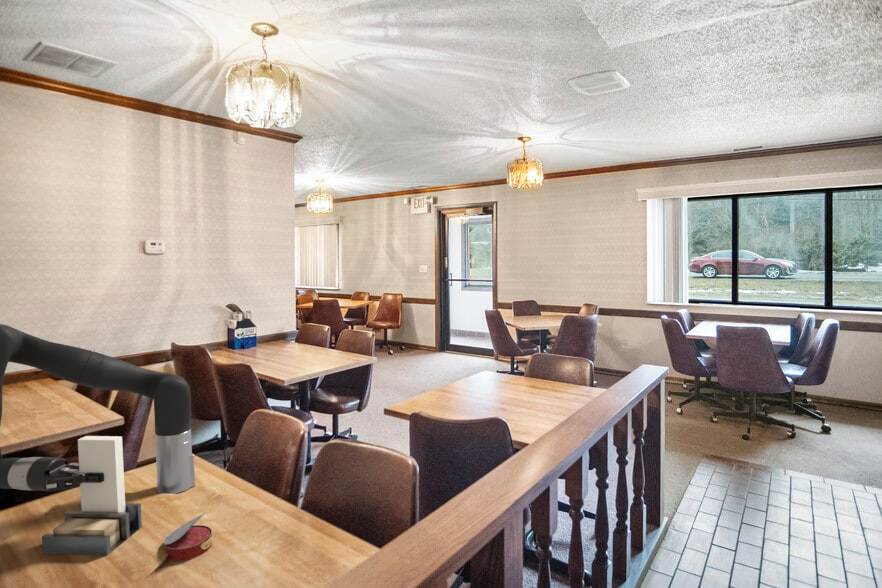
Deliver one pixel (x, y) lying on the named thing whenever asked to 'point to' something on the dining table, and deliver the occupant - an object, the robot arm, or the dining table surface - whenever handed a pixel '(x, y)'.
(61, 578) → the dining table surface
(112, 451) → the white rectangular board
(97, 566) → the dining table surface
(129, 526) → the rack
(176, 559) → the canned food
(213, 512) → the dining table surface
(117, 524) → the offcut top
